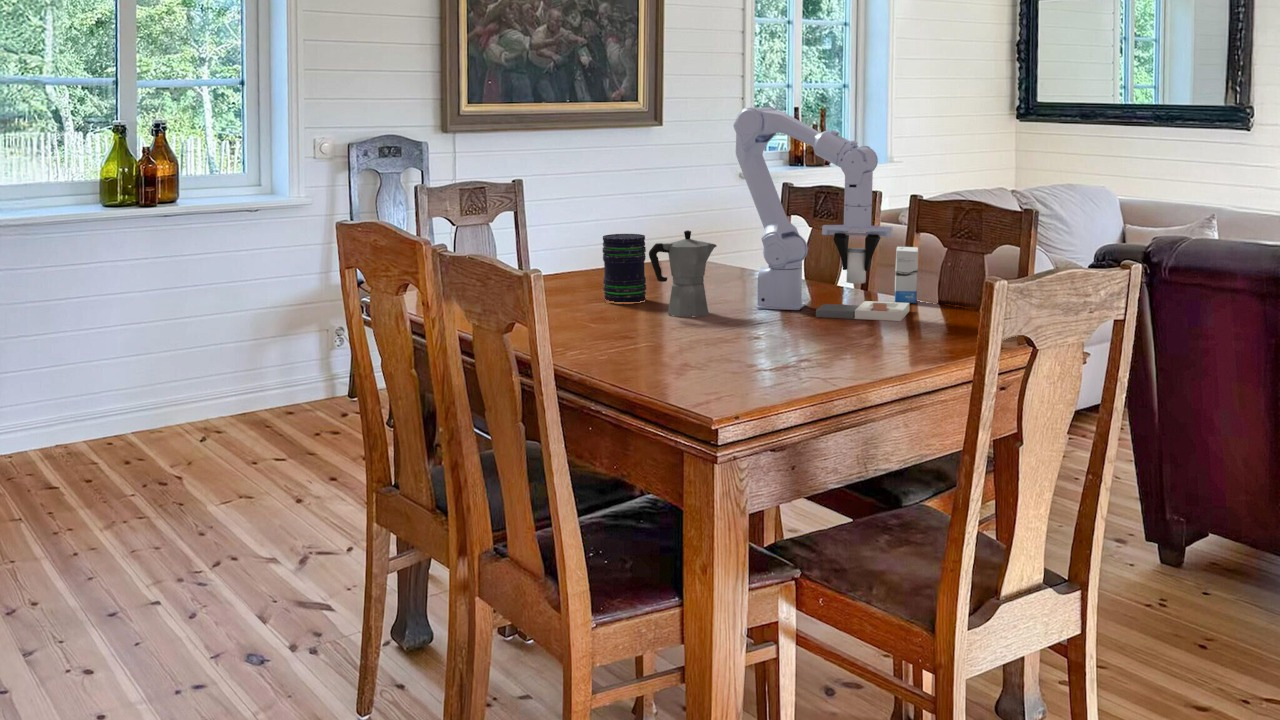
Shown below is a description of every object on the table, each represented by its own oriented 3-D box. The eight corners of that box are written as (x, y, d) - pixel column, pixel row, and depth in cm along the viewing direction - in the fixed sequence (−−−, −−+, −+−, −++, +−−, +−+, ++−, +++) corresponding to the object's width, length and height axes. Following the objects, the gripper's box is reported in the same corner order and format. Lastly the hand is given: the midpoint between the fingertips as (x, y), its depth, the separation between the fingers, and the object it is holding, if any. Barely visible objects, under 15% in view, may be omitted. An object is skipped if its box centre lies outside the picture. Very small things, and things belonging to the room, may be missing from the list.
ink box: (917, 303, 283) (918, 250, 280) (894, 303, 284) (895, 250, 281) (916, 297, 291) (918, 246, 289) (894, 297, 292) (896, 245, 290)
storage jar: (654, 301, 291) (654, 236, 288) (618, 306, 285) (617, 239, 282) (630, 296, 299) (629, 232, 296) (595, 300, 294) (593, 235, 290)
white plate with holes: (854, 318, 266) (854, 310, 266) (864, 309, 277) (864, 301, 277) (900, 320, 263) (901, 312, 262) (909, 311, 274) (909, 302, 273)
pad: (815, 316, 269) (815, 309, 268) (823, 310, 276) (823, 303, 276) (853, 318, 266) (853, 311, 266) (860, 312, 273) (860, 305, 273)
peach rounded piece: (871, 318, 266) (872, 304, 265) (873, 316, 268) (874, 302, 268) (885, 319, 265) (885, 305, 264) (887, 317, 267) (887, 303, 267)
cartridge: (844, 283, 269) (845, 250, 267) (848, 280, 272) (849, 247, 271) (863, 283, 267) (864, 250, 266) (867, 281, 271) (868, 248, 270)
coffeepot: (707, 308, 281) (707, 226, 277) (725, 315, 273) (725, 231, 269) (642, 313, 276) (641, 230, 272) (657, 320, 267) (656, 235, 264)
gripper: (819, 206, 265) (818, 271, 268) (890, 208, 260) (887, 273, 263) (826, 203, 272) (824, 266, 275) (895, 204, 267) (892, 269, 270)
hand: (856, 269), depth 269 cm, fingers closed on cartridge, 4 cm apart
